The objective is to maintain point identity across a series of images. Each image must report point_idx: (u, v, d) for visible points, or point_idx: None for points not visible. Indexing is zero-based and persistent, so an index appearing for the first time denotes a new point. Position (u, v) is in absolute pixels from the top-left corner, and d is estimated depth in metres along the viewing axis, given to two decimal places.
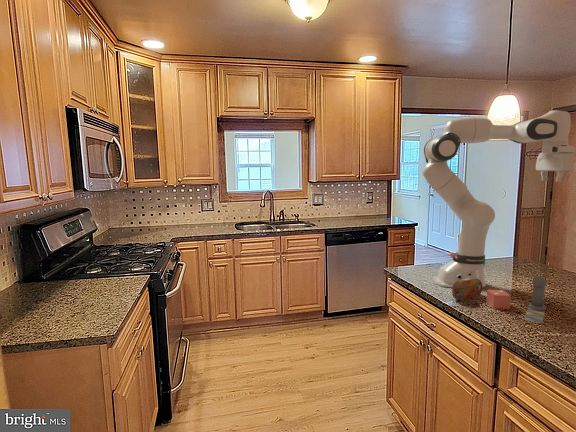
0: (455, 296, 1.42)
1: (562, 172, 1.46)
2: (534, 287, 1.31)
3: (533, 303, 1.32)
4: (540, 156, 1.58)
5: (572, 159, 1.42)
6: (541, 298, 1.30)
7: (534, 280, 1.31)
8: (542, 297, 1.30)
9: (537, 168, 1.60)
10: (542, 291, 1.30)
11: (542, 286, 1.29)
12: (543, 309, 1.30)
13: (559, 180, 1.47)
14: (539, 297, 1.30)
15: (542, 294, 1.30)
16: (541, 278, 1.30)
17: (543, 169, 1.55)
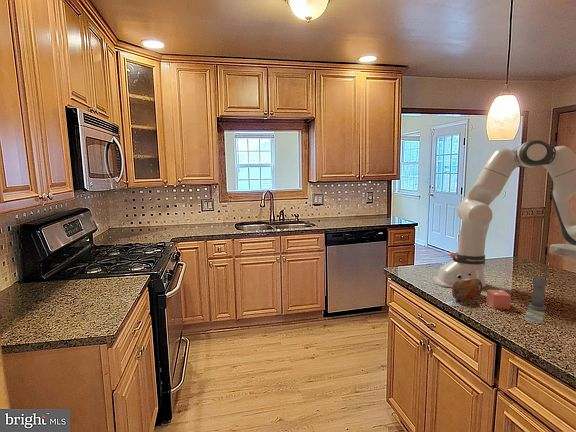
0: (455, 296, 1.42)
1: None
2: (534, 287, 1.31)
3: (533, 303, 1.32)
4: None
5: None
6: (541, 298, 1.30)
7: (534, 280, 1.31)
8: (542, 297, 1.30)
9: (555, 245, 1.43)
10: (542, 291, 1.30)
11: (542, 286, 1.29)
12: (543, 309, 1.30)
13: None
14: (539, 297, 1.30)
15: (542, 294, 1.30)
16: (541, 278, 1.30)
17: (566, 248, 1.38)
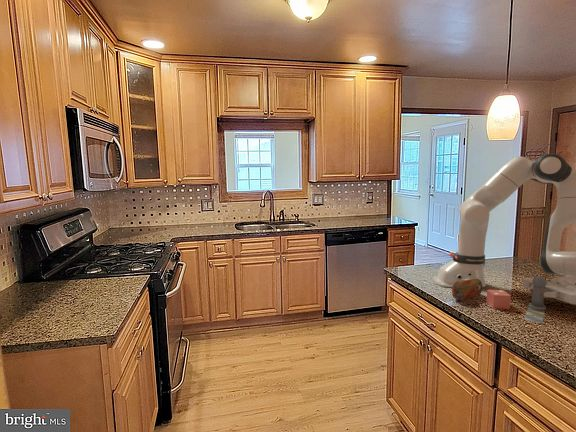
0: (455, 296, 1.42)
1: (556, 295, 1.29)
2: (534, 287, 1.31)
3: (533, 303, 1.32)
4: None
5: None
6: (541, 298, 1.30)
7: (534, 280, 1.31)
8: (542, 297, 1.30)
9: (528, 279, 1.40)
10: (542, 291, 1.30)
11: (542, 286, 1.29)
12: (543, 309, 1.30)
13: (546, 295, 1.29)
14: (539, 297, 1.30)
15: None
16: (541, 278, 1.30)
17: None
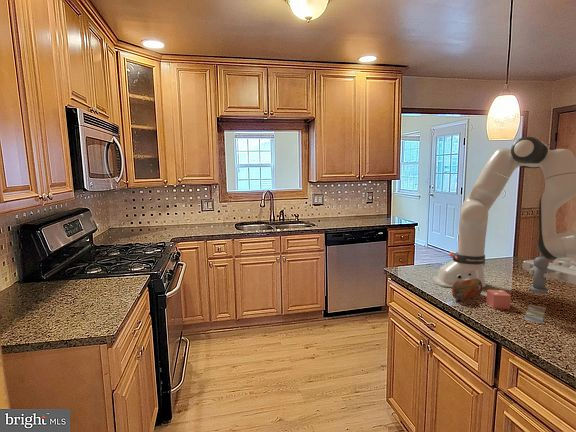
0: (455, 296, 1.42)
1: (558, 276, 1.20)
2: (535, 268, 1.23)
3: (534, 285, 1.23)
4: None
5: None
6: (543, 279, 1.21)
7: (535, 260, 1.22)
8: (544, 279, 1.21)
9: (528, 261, 1.31)
10: (544, 272, 1.21)
11: (544, 267, 1.20)
12: (545, 291, 1.21)
13: (548, 276, 1.20)
14: (541, 278, 1.21)
15: None
16: (543, 258, 1.21)
17: None
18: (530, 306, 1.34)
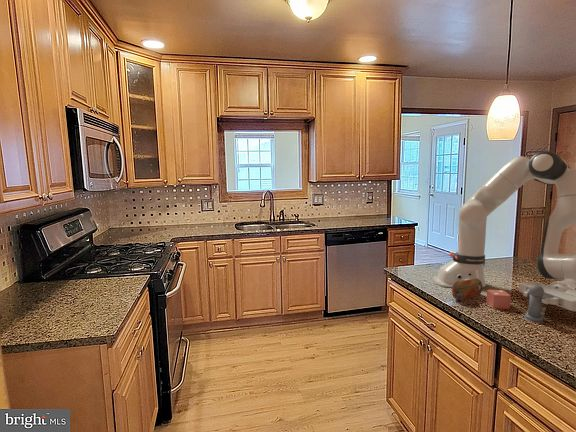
0: (455, 296, 1.42)
1: (557, 302, 1.18)
2: (531, 296, 1.22)
3: (530, 313, 1.23)
4: (539, 283, 1.31)
5: None
6: (538, 308, 1.21)
7: (531, 289, 1.22)
8: (539, 307, 1.21)
9: (525, 283, 1.31)
10: (539, 301, 1.21)
11: (539, 295, 1.20)
12: (540, 320, 1.21)
13: (547, 302, 1.18)
14: (536, 307, 1.21)
15: (539, 304, 1.21)
16: (538, 287, 1.21)
17: None
18: None
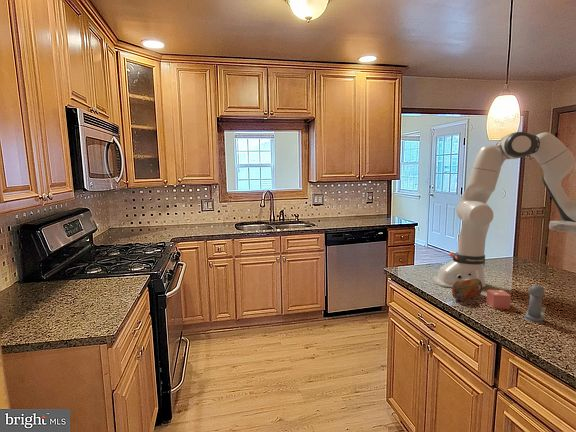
0: (455, 296, 1.42)
1: None
2: (531, 296, 1.22)
3: (530, 313, 1.23)
4: (567, 221, 1.44)
5: None
6: (538, 308, 1.21)
7: (531, 289, 1.22)
8: (539, 307, 1.21)
9: (555, 221, 1.43)
10: (539, 301, 1.21)
11: (539, 295, 1.20)
12: (540, 320, 1.21)
13: None
14: (536, 307, 1.21)
15: (539, 304, 1.21)
16: (538, 287, 1.21)
17: (565, 223, 1.39)
18: None
